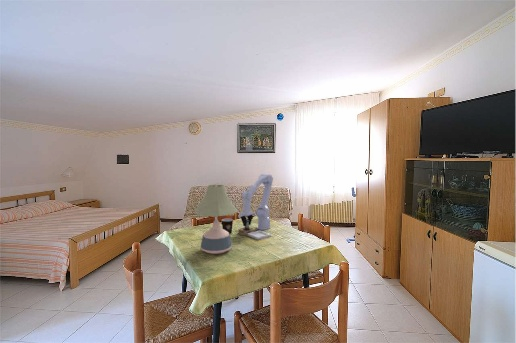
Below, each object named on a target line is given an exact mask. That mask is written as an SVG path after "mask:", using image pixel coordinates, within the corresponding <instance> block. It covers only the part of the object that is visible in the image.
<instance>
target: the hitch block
mask: <svg viewBox="0 0 516 343" xmlns="http://www.w3.org/2000/svg"><path fill="white" fill-rule="evenodd" d="M251 232H256V229H255V228H253V227H250V226H249V230H247V231H246V230H245V227H241V228H238V230H237V234H239V235H241V236H244V237H246V236H247V237H248V233H251Z"/></svg>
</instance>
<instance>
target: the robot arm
mask: <svg viewBox="0 0 516 343" xmlns="http://www.w3.org/2000/svg"><path fill="white" fill-rule="evenodd" d="M273 180H274V178H273V175H272V174H264V173H261V174H259V176H258V179H257V180H256V181H255V183H254V184H251V185H250V186H249V187H248V188H247V189H246V191H243V192H242V194H241V199H242V203H243V204H242V213H239V214H238V215H237V216H238V217H237V218H239V219H240V220H241V222H242V225H243V226H244V227H245V226H246V219H250V221H249V226H251V225H252V221H253V219H254V216H257V227H255V228H256V229H258V230H259V231H264V230H268V229H271V220H270V217H269V216H270V208H269V207H268V204H269V199H270V195H271V194H270V193H271V190H272V186H273V182H274V181H273ZM261 185H263V186H264V188H263V194H262V197H261V202H260V205H259V206H257V209H256V211H252V208H251V207H252V206H251V205H252V204H251V200H252V198H253V196H254V194H255V193H256V192H257V190H258V188H259V187H260V186H261Z"/></svg>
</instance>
